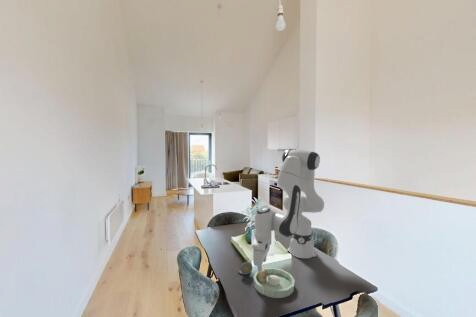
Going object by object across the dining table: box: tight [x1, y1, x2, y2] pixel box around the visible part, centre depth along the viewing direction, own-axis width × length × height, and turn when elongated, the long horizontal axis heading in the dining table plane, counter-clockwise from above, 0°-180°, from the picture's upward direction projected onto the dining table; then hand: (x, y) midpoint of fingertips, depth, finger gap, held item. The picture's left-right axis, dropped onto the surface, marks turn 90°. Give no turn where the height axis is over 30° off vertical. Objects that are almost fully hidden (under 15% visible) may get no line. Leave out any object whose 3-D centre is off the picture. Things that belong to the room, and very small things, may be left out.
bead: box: [257, 268, 267, 283], centre depth 118 cm, size 4×4×5 cm
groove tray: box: [252, 267, 296, 299], centre depth 116 cm, size 20×20×4 cm
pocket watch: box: [237, 257, 253, 276], centre depth 126 cm, size 8×8×10 cm
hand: (262, 265), depth 118 cm, fingers open, 8 cm apart
